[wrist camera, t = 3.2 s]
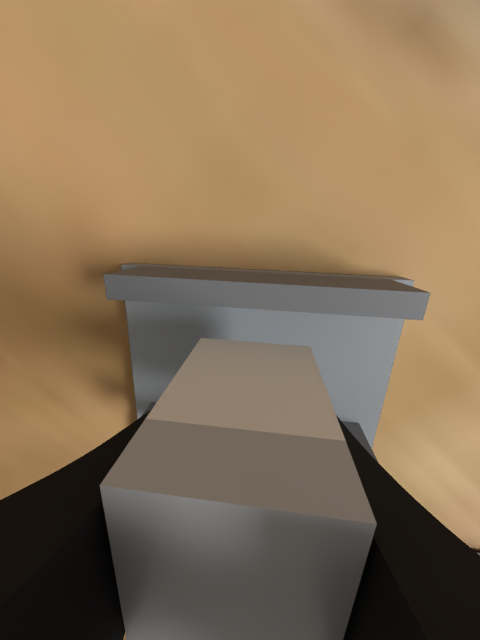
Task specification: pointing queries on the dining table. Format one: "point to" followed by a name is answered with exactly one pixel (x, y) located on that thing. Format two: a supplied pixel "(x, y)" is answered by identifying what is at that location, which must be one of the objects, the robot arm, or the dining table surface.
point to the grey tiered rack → (270, 326)
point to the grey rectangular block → (238, 503)
